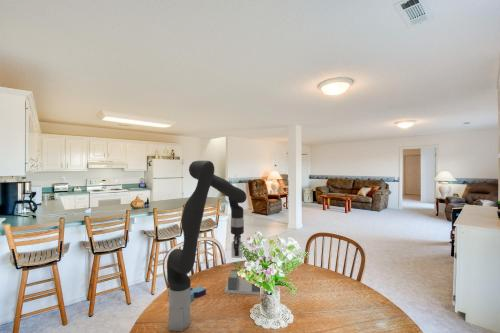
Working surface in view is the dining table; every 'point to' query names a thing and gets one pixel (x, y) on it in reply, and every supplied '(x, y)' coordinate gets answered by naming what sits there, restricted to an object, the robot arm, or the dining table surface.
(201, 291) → the pistol
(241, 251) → the module
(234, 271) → the rail board
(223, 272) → the dining table surface
